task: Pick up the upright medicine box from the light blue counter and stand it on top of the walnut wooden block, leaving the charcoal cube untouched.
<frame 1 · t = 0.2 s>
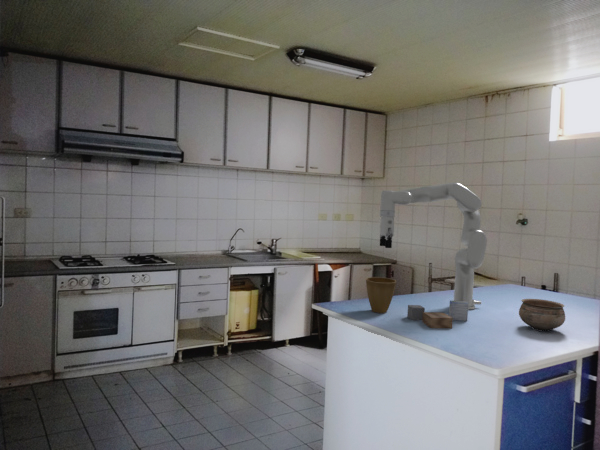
hand: (385, 246, 251), 31 cm above the countertop, fingers open, 9 cm apart
charcoal cube: (415, 318, 227), on the countertop
cooking pot: (540, 329, 219), on the countertop
walnut block: (436, 325, 217), on the countertop
medicine box: (457, 320, 230), on the countertop
plant pot: (379, 311, 239), on the countertop
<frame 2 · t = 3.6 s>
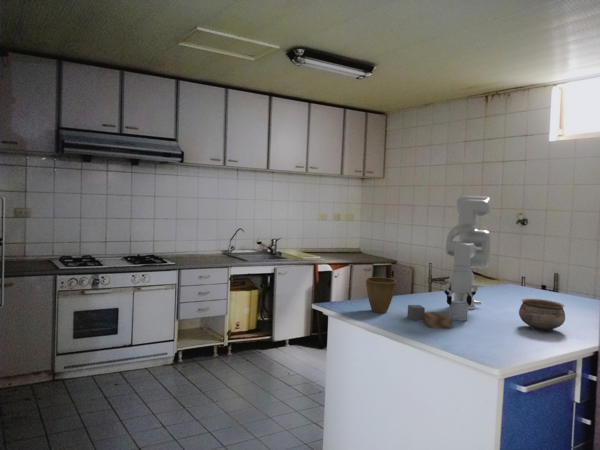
hand: (458, 304, 229), 7 cm above the countertop, fingers open, 9 cm apart
medicine box: (457, 320, 230), on the countertop, touching gripper
everything else where it was.
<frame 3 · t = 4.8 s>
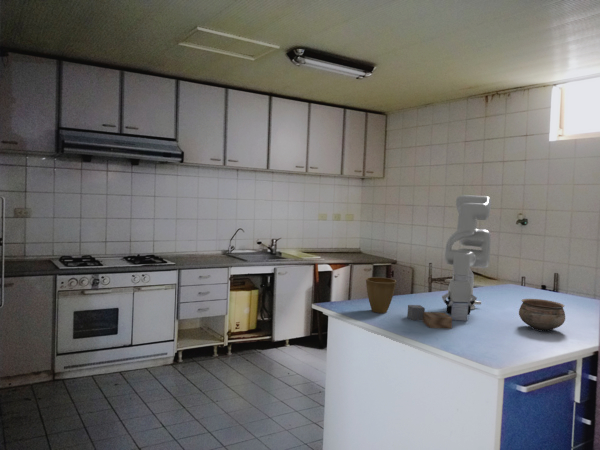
hand: (458, 313, 230), 3 cm above the countertop, fingers closed on medicine box, 8 cm apart
medicine box: (457, 319, 230), on the countertop, touching gripper
everything else where it was.
when the fingers open (9 cm above the countertop, at t = 10.7 s): medicine box drops 2 cm, resting on walnut block.
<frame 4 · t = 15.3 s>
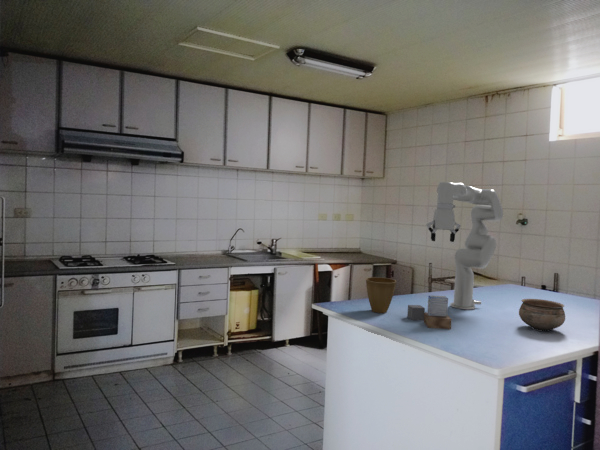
hand: (442, 241, 239), 36 cm above the countertop, fingers open, 9 cm apart
walnut block: (436, 326, 217), on the countertop, touching medicine box
medicine box: (437, 316, 217), point 4 cm above the countertop, touching walnut block
everything else where it was.
at the end: medicine box 0.3 cm off-centre on the walnut block, point 4.8 cm above the walnut block's base; medicine box tilted 1°; the gripper is holding nothing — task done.
